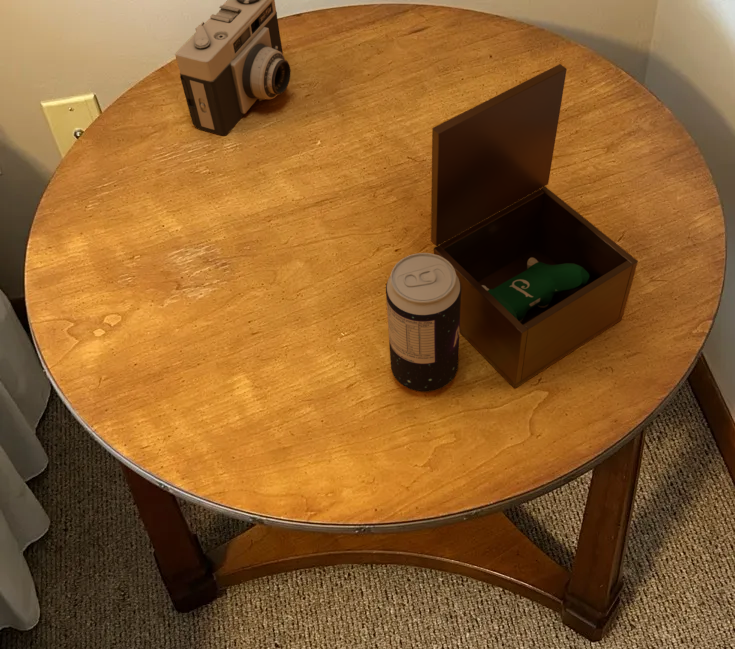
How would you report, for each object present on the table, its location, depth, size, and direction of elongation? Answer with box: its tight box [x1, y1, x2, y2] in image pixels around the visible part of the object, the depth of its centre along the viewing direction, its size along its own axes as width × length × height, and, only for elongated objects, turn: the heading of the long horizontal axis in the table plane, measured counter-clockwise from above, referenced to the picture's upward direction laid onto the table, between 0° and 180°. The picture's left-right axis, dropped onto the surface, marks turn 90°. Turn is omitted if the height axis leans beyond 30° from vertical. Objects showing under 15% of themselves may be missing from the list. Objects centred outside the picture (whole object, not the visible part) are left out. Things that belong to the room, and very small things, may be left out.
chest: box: [433, 186, 639, 389], centre depth 74 cm, size 11×12×8 cm
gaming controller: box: [482, 258, 590, 322], centre depth 75 cm, size 9×4×6 cm
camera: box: [174, 0, 291, 137], centre depth 94 cm, size 14×8×10 cm, turn 154°
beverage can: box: [385, 252, 461, 393], centre depth 69 cm, size 6×6×12 cm
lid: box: [430, 63, 568, 247], centre depth 69 cm, size 12×12×1 cm
